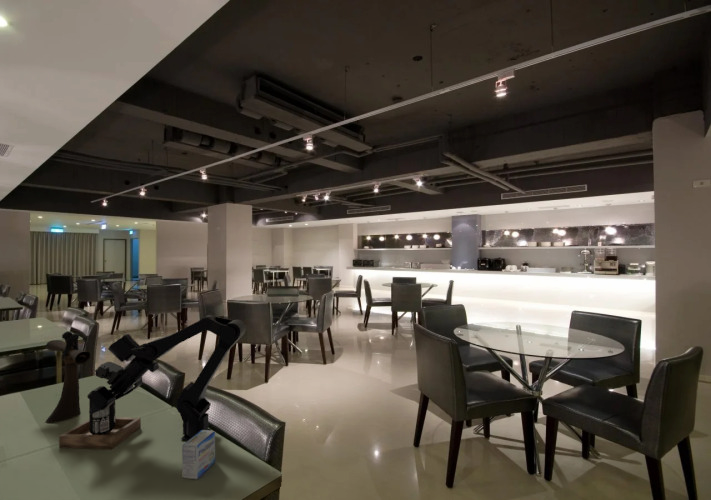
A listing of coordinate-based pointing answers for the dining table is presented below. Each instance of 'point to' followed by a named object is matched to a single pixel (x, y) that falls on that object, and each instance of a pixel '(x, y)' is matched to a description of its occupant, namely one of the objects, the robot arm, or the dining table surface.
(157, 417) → the dining table surface
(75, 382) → the flared trumpet-armed statue
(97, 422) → the beverage can
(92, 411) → the robot arm
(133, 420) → the tray
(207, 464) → the medicine box
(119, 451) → the dining table surface
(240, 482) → the dining table surface
